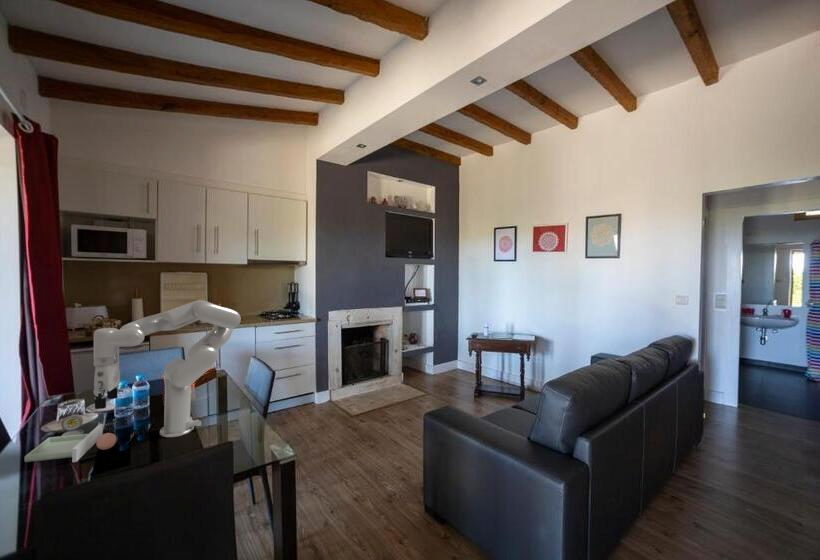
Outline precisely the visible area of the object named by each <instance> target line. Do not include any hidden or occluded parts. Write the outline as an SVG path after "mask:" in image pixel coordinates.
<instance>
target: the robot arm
mask: <svg viewBox="0 0 820 560" xmlns="http://www.w3.org/2000/svg"><path fill="white" fill-rule="evenodd" d="M241 319H242V317H241V315H240V313H239V312H237V310H235V309H231V308H229V307H224V306H220V305H218V304H215V303H212V302H209V301H207V300H204V299H198V300H194V301H192V302H188V303H186V304H183V305H180V306H178V307H175V308H172V309H169V310H166V311H163V312H160V313H159V312H158V313H156V314H151V315H149V316H145V317H142V318H140V319H137V320H134V321H131V322H128V323H126V324H124V325H123V326H121V327H120V328H119V329H118V328H115V327H104V328H98V329H95V331H94V332H93V366H94V367H95V369H94V379H93V380H94V381H93V387H94V388H93V391H92V392H93V396H94V397H93V398H94V409H95V410H101V409H102V410H103V409H106V408H107V400H111V399H113V400H114V399H117V398H118V394H119V393H118V389H119V388H118V387H119V385H120V384H121V375H120V374H121V373H120V371H121V370H120V347H127V348H128V347H136V346H139V345H141V344H142V342H144V340H145V336H148V335H150V334H153V333H156V332H161V331H162V332H163V331H175V330H178V329H180V328H182V327H185V326H188V325H189V324H192V323H194V322H198V321H199V322H200V321H201V322H203V323H207V324H210V325H213V327H212V329H211V330H210V331H209V332H208V333H206V335H204V336H203V337H202V338H201V339H199V340H198V341H196V342H195V343H194V344H193V345H192V346H191V347H190V348H189V349H188V353H187V355H188V358H187V359H183V358H176V359H173V360H170V361H169V362H168V363H167V364H166V366H165V368H164V371H163V379H164V411H163V412H164V414H163V415H164V416H163V417H164V418H163V419H164V420H163V423H164V424H163V425H164V426H163V427H161V428H160V430H159V435H160V436H161V437H164V438H176V437H181V436H183V435H187V434H189V433H191V432H192V431H193V430H194V428H195V427H200V426H201V425H202V421H201V420H200V419H193V416H191V397H192V393H191V392H192V391H191V390H192V387H191V386H192V384H194V383H195V382H196V381H197V380H198V379H199V378H201V377H202V376H203V375H204V374H205V373H206V372H208V371H209V369H211V368H212V367H213V366H214V365H215V363H216V362H217V360H218V356H219V353H218V351H219V350H220V349H221V348H222V347H223V346H224V345H225V344H226V343H227V342H228V341H229V340H230V338H231V336H232V333H233V329H234V328H236V327H238V326H240V323H241V321H242V320H241ZM106 394H107V397H106Z"/></svg>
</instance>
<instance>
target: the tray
mask: <svg viewBox="0 0 820 560" xmlns="http://www.w3.org/2000/svg"><path fill="white" fill-rule="evenodd" d="M88 434H89V433H83V434H81V435H71V436H62V435H61V436H52V437H51V436H50V437H47V438H46V439H45V440H44V441H42V442H41V443H40V444H39V445H37V446H36V447H35V448H33V449H32V450H30V452H28V453H27V454H25V456H24V463H30V462H40V461H49V460H57V459H66V458H67V459H69V458H72V449H73V448H74V447H75V446H76V445H77V444H78V443H79V442H81V441H82V440H83V439H84V438H85V437H86V436H87V435H88Z"/></svg>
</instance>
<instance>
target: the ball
mask: <svg viewBox="0 0 820 560" xmlns="http://www.w3.org/2000/svg"><path fill="white" fill-rule="evenodd" d="M116 443H117V436H116V434H114V433H111V432H106V433H103V435H101V436H100V437H99V438H98V440H97V442H96V443H95V444H96V447H97V448H98V449H99V450H103V451H104V450H110V449H111V448H112V447H114V446H115V444H116Z"/></svg>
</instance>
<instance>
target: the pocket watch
mask: <svg viewBox="0 0 820 560" xmlns="http://www.w3.org/2000/svg"><path fill="white" fill-rule="evenodd" d="M72 410H73V411H72ZM74 410H75V411H74ZM70 411H71V412H70ZM76 412H77V409H76V408H72V409H69V410H68V411H67V413H69V414H71V415H68V416H66V417H65V418H64V419H63V420H62V422H61V428H62V429H63V430H64V431H66V432H64V433H62V434H61V436H71V435H82V434H84V430H83V429H79V428H81V427H82V425H83V423H84V419H83V416H82V415H79V414H75V413H76Z"/></svg>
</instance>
